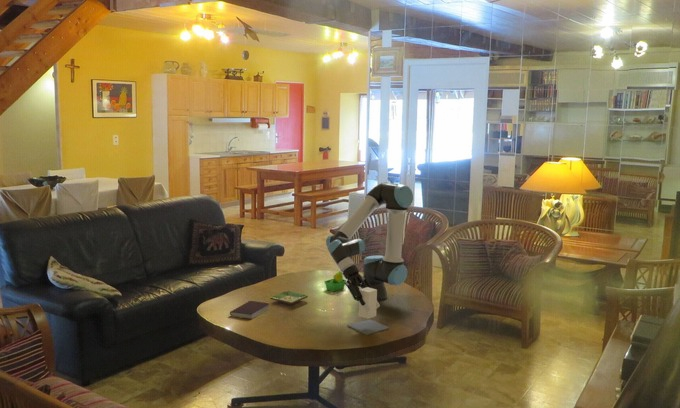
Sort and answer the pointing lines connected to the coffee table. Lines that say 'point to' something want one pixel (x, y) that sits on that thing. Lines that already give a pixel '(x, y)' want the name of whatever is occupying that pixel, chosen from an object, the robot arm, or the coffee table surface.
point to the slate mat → (368, 327)
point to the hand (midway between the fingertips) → (373, 308)
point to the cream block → (371, 299)
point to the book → (250, 309)
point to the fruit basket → (335, 282)
